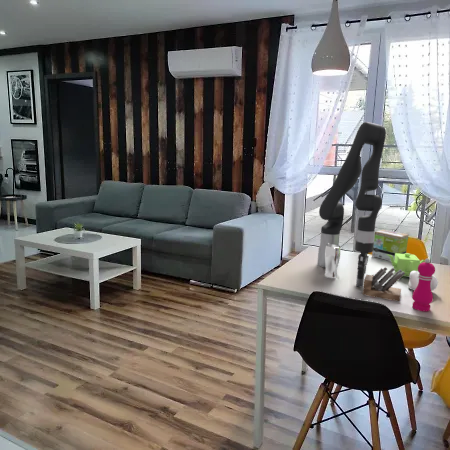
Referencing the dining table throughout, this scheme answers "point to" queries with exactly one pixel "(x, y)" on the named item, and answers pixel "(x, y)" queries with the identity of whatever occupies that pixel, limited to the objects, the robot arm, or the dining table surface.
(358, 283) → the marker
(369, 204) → the robot arm
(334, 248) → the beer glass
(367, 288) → the knife block
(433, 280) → the white knot
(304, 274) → the dining table surface
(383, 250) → the tea box
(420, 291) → the pepper mill
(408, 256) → the kettle
